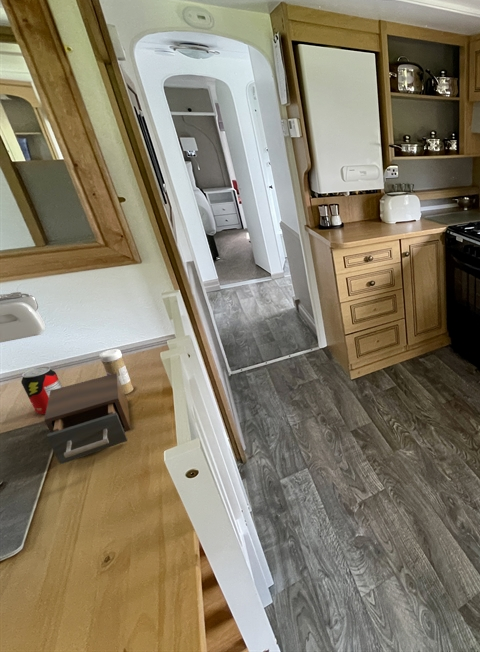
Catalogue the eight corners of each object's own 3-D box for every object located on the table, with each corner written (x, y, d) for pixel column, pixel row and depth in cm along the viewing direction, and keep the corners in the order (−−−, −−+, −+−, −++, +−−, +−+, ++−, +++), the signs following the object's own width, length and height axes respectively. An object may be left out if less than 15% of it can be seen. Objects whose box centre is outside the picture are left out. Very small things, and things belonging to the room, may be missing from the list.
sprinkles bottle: (109, 396, 110) (93, 356, 105) (122, 387, 114) (107, 348, 109) (126, 396, 110) (110, 356, 105) (138, 387, 114) (124, 348, 109)
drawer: (128, 453, 88) (117, 427, 85) (58, 479, 81) (43, 451, 78) (125, 413, 102) (115, 388, 99) (64, 432, 94) (52, 406, 91)
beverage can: (59, 399, 108) (43, 363, 103) (75, 404, 106) (59, 367, 102) (30, 413, 102) (12, 375, 97) (46, 418, 100) (28, 380, 96)
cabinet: (130, 429, 97) (118, 398, 94) (60, 453, 89) (43, 419, 86) (127, 402, 107) (116, 372, 104) (64, 421, 99) (50, 390, 96)
